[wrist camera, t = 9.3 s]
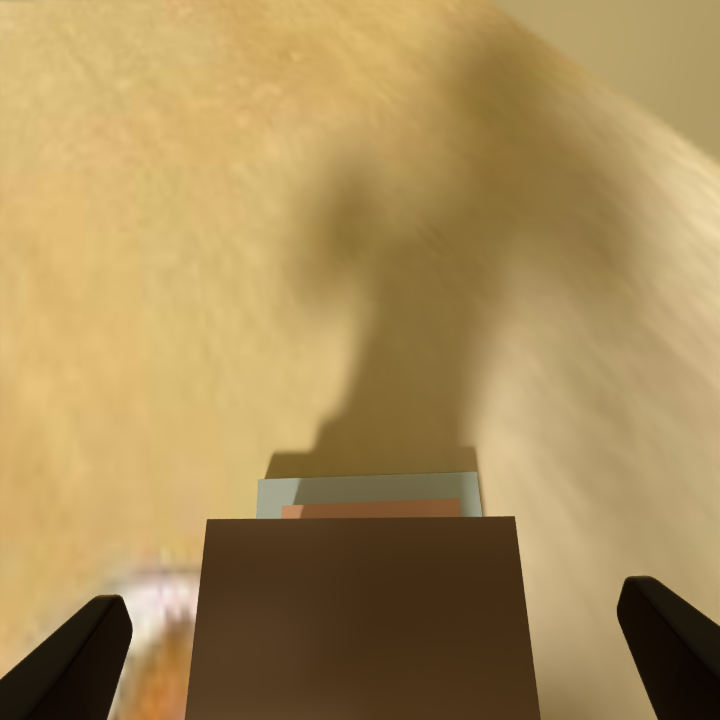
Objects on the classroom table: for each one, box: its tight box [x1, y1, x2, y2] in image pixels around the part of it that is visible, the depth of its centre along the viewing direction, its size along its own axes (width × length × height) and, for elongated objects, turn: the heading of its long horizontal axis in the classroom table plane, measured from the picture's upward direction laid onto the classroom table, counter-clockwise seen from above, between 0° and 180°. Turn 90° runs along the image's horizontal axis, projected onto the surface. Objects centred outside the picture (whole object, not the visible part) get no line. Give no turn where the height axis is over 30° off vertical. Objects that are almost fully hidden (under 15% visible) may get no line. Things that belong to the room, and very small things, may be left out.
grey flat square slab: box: [256, 471, 482, 519], centre depth 20 cm, size 10×10×2 cm
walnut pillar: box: [185, 516, 541, 720], centre depth 12 cm, size 6×6×10 cm
